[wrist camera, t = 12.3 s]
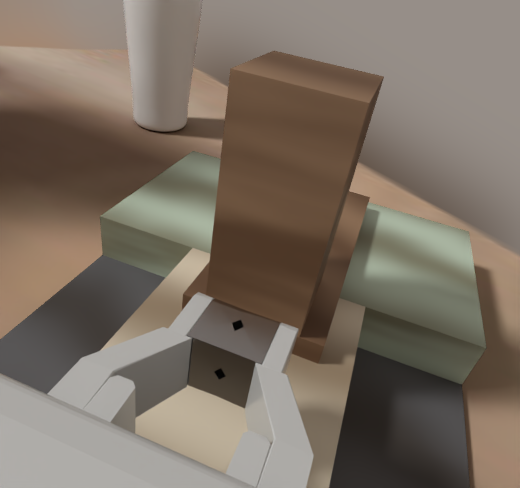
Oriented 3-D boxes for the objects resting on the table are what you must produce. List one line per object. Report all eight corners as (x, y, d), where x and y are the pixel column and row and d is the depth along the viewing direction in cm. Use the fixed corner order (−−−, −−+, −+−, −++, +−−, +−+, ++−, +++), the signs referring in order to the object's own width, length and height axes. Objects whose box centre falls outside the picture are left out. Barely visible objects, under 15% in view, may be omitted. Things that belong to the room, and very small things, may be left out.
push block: (318, 363, 17) (406, 112, 11) (181, 311, 18) (198, 60, 12) (365, 210, 28) (421, 47, 22) (279, 184, 29) (312, 24, 23)
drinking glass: (113, 115, 43) (106, -65, 35) (172, 110, 47) (178, -53, 39) (146, 140, 39) (146, -56, 31) (206, 132, 43) (221, -44, 35)
